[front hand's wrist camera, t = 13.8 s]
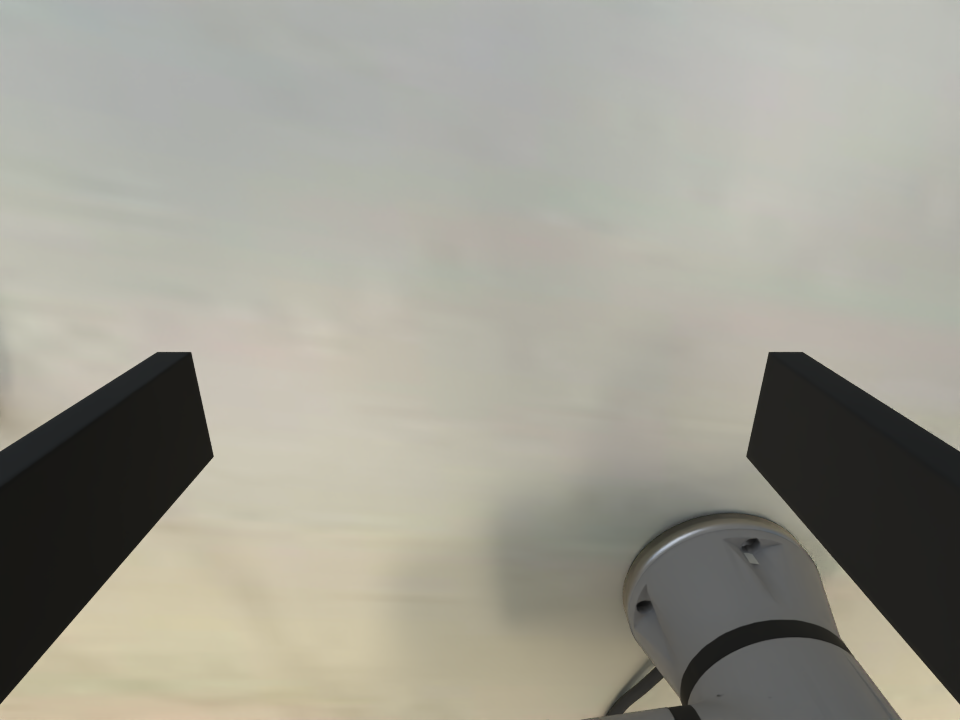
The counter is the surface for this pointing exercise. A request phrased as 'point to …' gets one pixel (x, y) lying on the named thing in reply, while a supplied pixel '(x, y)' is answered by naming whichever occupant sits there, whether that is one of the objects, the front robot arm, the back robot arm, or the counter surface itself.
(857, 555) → the front robot arm
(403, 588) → the counter surface
